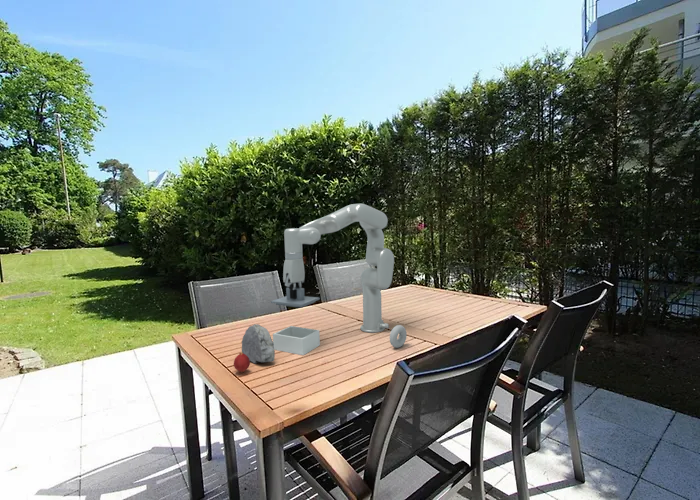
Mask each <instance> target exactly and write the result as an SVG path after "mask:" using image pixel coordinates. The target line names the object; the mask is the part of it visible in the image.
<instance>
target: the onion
mask: <svg viewBox="0 0 700 500" xmlns="http://www.w3.org/2000/svg"><path fill="white" fill-rule="evenodd" d="M250 365H251V361H250V360H249V358H248V356H247V355H245V354H243V353H242V351H240V352H239V354H238V355H237V356H236V357H235V358H234V360H233V368H234V369H235V370H236V371H237V372H239V373H241V374H242V373H245V372H246V371H247V370H248V369H249V366H250Z"/></svg>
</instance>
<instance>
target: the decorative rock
mask: <svg viewBox="0 0 700 500" xmlns="http://www.w3.org/2000/svg"><path fill="white" fill-rule="evenodd" d="M244 333H245V334H243V336H242V340H241V352H242V353H243V354H245V355H247V356H248V358H249V360H250V363H251V362H252V363H253V364H259V363H270V362H271V363H272V362H274V361H275V358H276V357H275V356H276V354H275V351H276V350H274V344H273V338H272V336H271V335H270V334H271V333H270V332H269V330H268V329H267V328H266V327H264V326H261V325H260V324H256V323H255V324H252V325H249V327H248V328H247V329H245V332H244Z"/></svg>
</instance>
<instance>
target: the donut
mask: <svg viewBox="0 0 700 500" xmlns="http://www.w3.org/2000/svg"><path fill="white" fill-rule="evenodd" d="M407 336H408V334H407V329H406V328H405V327H404V325H402V324H397V325H394V327H393V328H392V329H391V331H390V333H389V343H390V345H391V346H392V347H393V348H395V349H398V348H401V347H403V346H404V345H405V343H406V340H407Z"/></svg>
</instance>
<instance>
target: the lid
mask: <svg viewBox="0 0 700 500" xmlns="http://www.w3.org/2000/svg"><path fill="white" fill-rule="evenodd" d="M295 290H296V295H297V298H296V299H291V298H290V290H289V288H288V287H286V288H285V291H286V292H285V293H286V295H285V296H282V297H279V298H276V299H274V300H270V303H271V304H275V305H276V306H286V307H293V308H300V309H301V308H304V307H306V306H309V305H311V304H314V303H316V301H319V300H320V299H321V298H320V297H316V296H306V295H305V288H304V287H301V288H295Z"/></svg>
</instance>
